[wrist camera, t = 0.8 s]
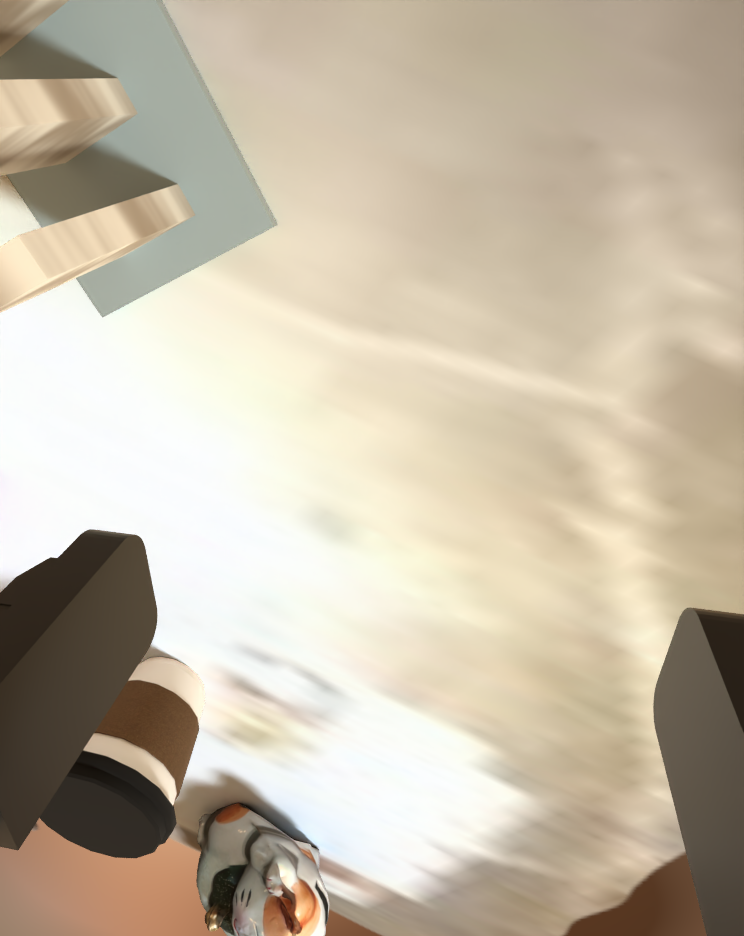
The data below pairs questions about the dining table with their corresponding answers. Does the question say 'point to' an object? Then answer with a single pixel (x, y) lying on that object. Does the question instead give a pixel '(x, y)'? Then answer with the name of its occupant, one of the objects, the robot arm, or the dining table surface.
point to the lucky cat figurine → (258, 877)
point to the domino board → (139, 144)
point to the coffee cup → (132, 764)
